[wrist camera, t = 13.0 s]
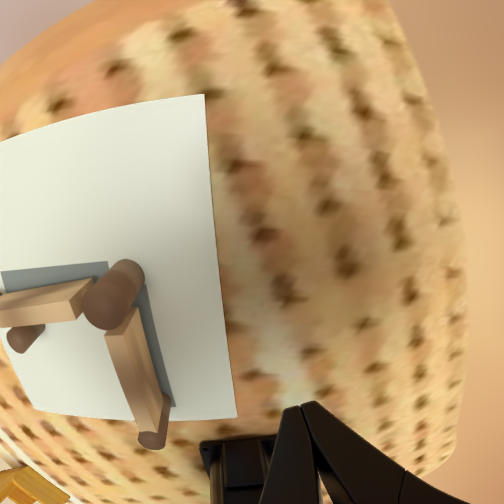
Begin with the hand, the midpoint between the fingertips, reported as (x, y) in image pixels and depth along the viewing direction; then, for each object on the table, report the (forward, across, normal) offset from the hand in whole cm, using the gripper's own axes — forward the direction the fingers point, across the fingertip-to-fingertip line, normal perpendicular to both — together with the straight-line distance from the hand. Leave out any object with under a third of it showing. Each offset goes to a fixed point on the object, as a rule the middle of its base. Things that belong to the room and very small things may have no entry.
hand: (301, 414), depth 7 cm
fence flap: (+9, +13, -3) cm, 16 cm away
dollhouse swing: (+10, +35, +20) cm, 42 cm away
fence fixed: (+10, +11, +1) cm, 15 cm away
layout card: (+10, +10, -2) cm, 14 cm away
